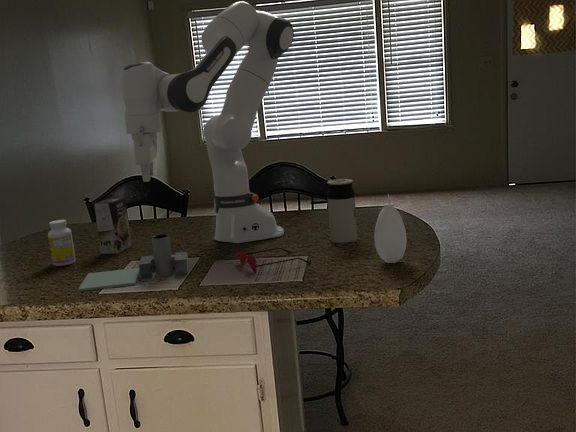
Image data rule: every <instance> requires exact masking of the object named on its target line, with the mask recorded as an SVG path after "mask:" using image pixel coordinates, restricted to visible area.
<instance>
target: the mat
mask: <svg viewBox="0 0 576 432" xmlns="http://www.w3.org/2000/svg"><path fill="white" fill-rule="evenodd" d="M138 277H140V271H139V267H134V268H125V269H117V270H116V269H115V270H108V271H98V272H88V273H87V275H86V276H85V278H84V279H83V281H82V282H81V284H80V285H79V286H78V289H77V290H78V292H84V291H93V290H100V289H102V290H103V289H109V288H111V289H112V288H118V287H127V286H136V284H137V281H138V279H139V278H138Z"/></svg>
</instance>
